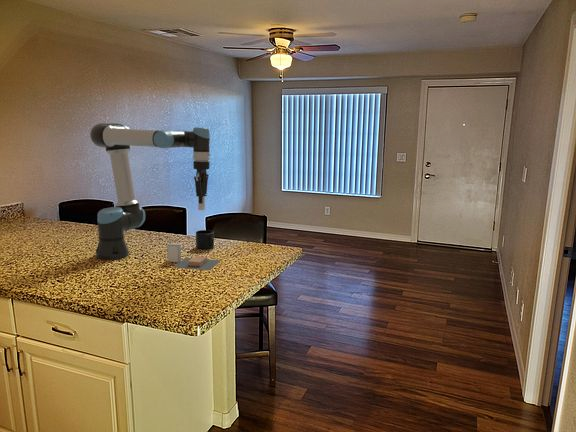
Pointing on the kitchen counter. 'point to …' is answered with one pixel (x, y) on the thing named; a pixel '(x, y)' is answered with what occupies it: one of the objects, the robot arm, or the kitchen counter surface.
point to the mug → (205, 239)
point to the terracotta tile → (197, 261)
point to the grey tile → (174, 252)
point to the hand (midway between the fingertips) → (201, 209)
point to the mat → (206, 266)
